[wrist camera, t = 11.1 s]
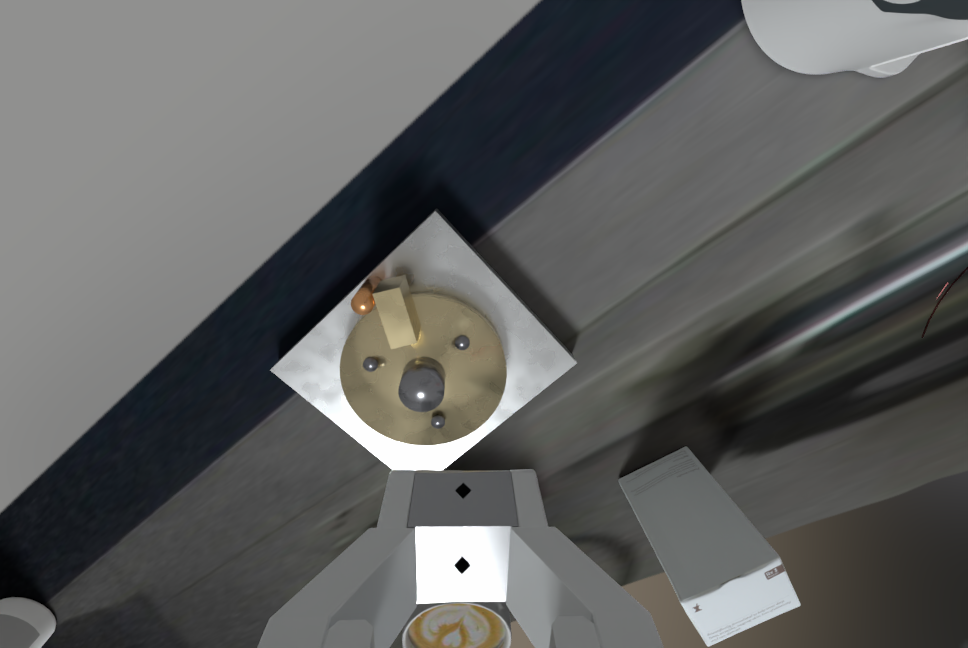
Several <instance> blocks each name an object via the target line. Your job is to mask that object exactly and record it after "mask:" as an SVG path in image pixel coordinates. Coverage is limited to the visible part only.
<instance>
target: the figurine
mask: <svg viewBox="0 0 968 648" xmlns="http://www.w3.org/2000/svg"><path fill="white" fill-rule="evenodd" d="M967 269H968V267H967V268H966V269H965V270H964V271H963V272H962V273H961V274H960V275H959V277H958V278H957V279H956V280H955V281H954V282H953V283H952V284H951V285H950V287H949V288H948V290H947V291H946V292H945V294H944V295H943V296H942V298H941V299H940V301H939V302H938V304H937V305H936V307H935V309H934V311H933V313H932V314H931V316H930V318H929V320H928V322H927V325H926V327H925V330H924V332H923V335H922V338H923V337H924V334H925V332H926V329H927V326H928V324H929V321H930V319H931V318H932V316H933V314H934V312H935V310H936V309H937V307H938V305H939V303H940V302H941V300H942V299H943V298H944V296H945V295H946V293H947V292H948V291H949V289H950V288H951V287H952V285H953V284H954V283H955V282H956V281H957V280H958V279H959V278H960V277H961V275H962V274H963V273H964V272H965V271H966V270H967ZM947 284H948V283H946V285H945V286H944V288H945V287H946V286H947ZM944 288H943V290H944ZM943 290H942V291H943ZM942 291H941V293H942ZM941 293H940V294H941ZM940 294H939V295H940ZM938 297H939V296H938Z"/></svg>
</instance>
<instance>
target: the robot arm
mask: <svg viewBox="0 0 968 648" xmlns="http://www.w3.org/2000/svg"><path fill="white" fill-rule="evenodd" d="M741 2H742V7H743V12H744V15H745V19H746V22H747V25H748V27H749V29H750V32H751V34H752V35H753V37H754V39H755V41H756V42H757V44H758V45H759V46H760V48H761V49H762V50H763V51H764V52H765V53H766V54H767V55H768V56H769V57H770V58H771V59H772V60H774V61H775V62H776V63H778V64H779V65H781V66H783V67H785V68H787V69H789V70H792V71H795V72H799V73H804V74H814V75H815V74H829V73H835V72H841V71H857V72H860V73H863V74H866V75H869V76H872V77H877V78H885V77H889V76H892V75H895V74H898V73H900V72H902V71H903V70H904V69H906V68H907V67H908V66H909V65H910V63H911V62H912V61H913V60H914V59H915V58H916V57H917V56H918V55H919V54H920V53H923V52H927V51H930V50H933V49H937V48H940V47H944V46H947V45H950V44H954V43H957V42H960V41H963V40H967V39H968V0H741ZM459 601H469V602H506V605H507V607H508V608H509V610H510V611H511V613H512V614H513V616H514V617H515V619H516V620H517V622H518V623H519V625H520V626H521V627H522V629H523V631H524V632H525V634H526V635H527V636H528V638H529V639H530V641H531V642H532V644H533V645H534V647H535V648H664V647H663V644H662V642H661V639H660V637H659V634H658V632H657V629H656V627H655V624H654V622H653V619H652V617H651V614H650V613H649V612H648V611H647V610H646V609H645V608H644V607H643V606H642V605H641V604H640V603H638V602H637V601H636V600H635V599H634V598H633V597H632V596H631V595H630V594H629V593H627V592H626V591H625V590H624V589H623V588H622V587H621V586H620V585H619V584H618V583H616V582H615V581H614V580H613V579H612V578H611V577H610V576H609V575H608V574H607V573H605V572H604V571H603V570H602V569H601V568H600V567H599V566H598V565H597V564H596V563H594V562H593V561H592V560H591V559H590V558H589V557H588V556H587V555H586V554H585V553H583V552H582V551H581V550H580V549H579V548H578V547H577V546H576V545H575V544H574V543H572V542H571V541H570V540H569V539H568V538H567V537H566V536H565V535H564V534H563V533H561V532H560V531H559V530H558V529H557V528H556V527H548V524H547V520H546V516H545V511H544V507H543V502H542V498H541V494H540V489H539V485H538V481H537V476H536V472H535V471H534V470H533V469H519V470H510V471H461V470H391V472H390V474H389V477H388V481H387V486H386V490H385V494H384V499H383V503H382V507H381V512H380V516H379V520H378V525H377V528H369V529H368V530H367V531H366V532H365V533H364V534H362V535H361V536H360V537H359V538H358V539H357V540H356V541H355V542H354V543H353V544H351V545H350V546H349V547H348V548H347V549H346V550H345V551H344V552H343V553H341V554H340V555H339V556H338V557H337V558H336V559H335V560H334V561H333V562H332V563H330V564H329V565H328V566H327V567H326V568H325V569H324V570H323V571H322V572H320V573H319V574H318V575H317V576H316V577H315V578H314V579H313V580H312V581H311V582H309V583H308V584H307V585H306V586H305V587H304V588H303V589H302V590H301V591H299V592H298V593H297V594H296V595H295V596H294V597H293V598H292V599H291V600H290V601H288V602H287V603H286V604H285V605H284V606H283V607H282V608H281V609H280V610H278V611H277V612H276V613H275V614H274V615H273V616H272V617H271V618H270V619H269V621H268V623H267V626H266V628H265V630H264V633H263V635H262V638H261V640H260V642H259V645H258V647H257V648H389V647H390V646H391V644H392V643H393V641H394V640H395V638H396V637H397V635H398V634H399V632H400V631H401V629H402V628H403V627H404V625H405V624H406V622H407V621H408V619H409V618H410V616H411V615H412V613H413V612H414V610H415V609H416V607H417V603H437V602H459Z"/></svg>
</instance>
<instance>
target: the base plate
mask: <svg viewBox="0 0 968 648" xmlns="http://www.w3.org/2000/svg"><path fill="white" fill-rule="evenodd" d="M402 275H406V279H407V282H408V285H409V288H410V292H416V291H429V292H438V293H442V294H447V295H450V296H453V297H456V298H458V299H460V300H462V301H464V302H466V303H468V304H469V305H471V306H472V307H474V308H476V309H477V310H478V311H479V312H480V313H481V314H483V315H484V316H485V318H486V319H487V320H488V321H489V322H490V323H491V325H492V326H493V328H494V329H495V331H496V332H497V334H498V337H499V339H500V341H501V344H502V347H503V350H504V355H505V361H506V367H507V378H506V386H505V390H504V393H503V396H502V399H501V401H500V403H499V405H498V407H497V408H496V410H495V412H494V413H493V414H492V415H491V417H490V418H489V419H488V420H487V421H486V422H485V423H484V424H483V425H482V426H481V427H479V428H478V429H477V430H475V431H474V432H472V433H471V434H469V435H467V436H465V437H463V438H461V439H458V440H456V441H453V442H449V443H446V444H440V445H430V446H420V445H411V444H405V443H401V442H397V441H394V440H392V439H389V438H387V437H385V436H383V435H381V434H379V433H377V432H376V431H374V430H373V429H371V428H370V427H369V426H367V425H366V424H365V423H364V422H363V421H362V420H361V419H360V418H359V417H358V416H357V415H356V413H355V412H354V411H353V409H352V408H351V406H350V405H349V403H348V401H347V399H346V397H345V395H344V392H343V389H342V385H341V380H340V359H341V354H342V350H343V347H344V345H345V342H346V340H347V338H348V336H349V334H350V333H351V331H352V330H353V328H354V326H355V325H356V323H357V322H358V321H359V320H360V318H361V317H362V316H363V315H366V314H369V313H370V312H371V311H372V309H373V307H374V306H375V305H376V304H375V301H374V298H373V295H372V294H373V292H374V290H375V289H376V287H377V285H378V284H379V282H380V281H381V280H385V279H389V278H394V277H398V276H402ZM576 363H577V362H576V360H575V358H574V356H573V354H572V353H571V352H570V351H569V350H568V349H567V348H566V347H565V345H564V344H563V343H562V342H561V341H560V340H559V339H558V338H557V337H556V336H555V335H554V334H553V333H552V331H551V330H550V329H549V328H548V327H547V326H546V325H545V324H544V323H543V322H542V321H541V320H540V319H539V317H538V316H537V315H536V314H535V313H534V312H533V311H532V310H531V309H530V308H529V307H528V306H527V305H526V303H525V302H524V301H523V300H522V299H521V298H520V297H519V296H518V295H517V294H516V293H515V292H514V291H513V289H512V288H511V287H510V286H509V285H508V284H507V283H506V282H505V281H504V280H503V279H502V278H501V277H500V276H499V274H498V273H497V272H496V271H495V270H494V269H493V268H492V267H491V266H490V265H489V264H488V263H487V262H486V260H485V259H484V258H483V257H482V256H481V255H480V254H479V253H478V252H477V251H476V250H475V249H474V248H473V246H472V245H471V244H470V243H469V242H468V241H467V240H466V239H465V238H464V237H463V236H462V235H461V234H460V232H459V231H458V230H457V229H456V228H455V227H454V226H453V225H452V224H451V223H450V222H449V221H448V220H447V218H446V217H445V216H444V215H443V214H442V213H441V212H440V211H439V210H438V209H437V208H436V209H435V210H434V211H433V212H432V213H431V214H430V215H429V216H428V217H427V218H426V219H425V220H424V221H423V222H422V223H420V224H419V225H418V226H417V227H416V228H415V229H414V230H413V231H412V232H411V233H410V234H409V235H408V236H407V237H406V238H405V239H404V240H403V241H402V242H401V243H400V244H399V245H398V246H397V247H396V248H395V249H394V250H392V251H391V252H390V253H389V254H388V255H387V256H386V257H385V258H384V259H383V260H382V261H381V262H380V263H379V264H378V265H377V266H376V267H375V268H374V269H373V270H372V271H371V272H370V273H369V274H368V275H367V276H365V277H364V278H363V279H362V280H361V281H360V282H359V283H358V284H357V285H356V286H355V287H354V288H353V289H352V290H351V291H350V292H349V293H348V294H347V295H346V296H345V297H344V298H343V299H342V300H341V301H340V302H339V303H337V304H336V305H335V306H334V307H333V308H332V309H331V310H330V311H329V312H328V313H327V314H326V315H325V316H324V317H323V318H322V319H321V320H320V321H319V322H318V323H317V324H316V325H315V326H314V327H313V328H312V329H310V330H309V331H308V332H307V333H306V334H305V335H304V336H303V337H302V338H301V339H300V340H299V341H298V342H297V343H296V344H295V345H294V346H293V347H292V348H291V349H290V350H289V351H288V352H287V353H286V354H285V355H284V356H282V357H281V358H280V359H279V360H278V361H277V363H276V364H275V365H274V366H273V367H272V368H271V370H270V371H272V372H273V373H274V374H275V375H276V376H278V377H279V378H280V379H281V380H283V381H284V382H285V383H286V384H288V385H289V386H290V387H291V388H293V389H294V390H295V391H296V392H298V393H299V394H300V395H301V396H302V397H304V398H305V399H306V400H307V401H309V402H310V403H311V404H312V405H314V406H315V407H316V408H317V409H319V410H320V411H321V412H322V413H323V414H325V415H326V416H327V417H328V418H330V419H331V420H332V421H333V422H335V423H336V424H337V425H338V426H340V427H341V428H342V429H343V430H345V431H346V432H347V433H348V434H349V435H351V436H352V437H353V438H354V439H356V440H357V441H358V442H359V443H361V444H362V445H363V446H364V447H366V448H367V449H368V450H369V451H371V452H372V453H373V454H374V455H375V456H377V457H378V458H379V459H380V460H382V461H383V462H384V463H385V464H387V465H388V466H389V467H390V468H392V469H393V470H443V469H445V468H446V467H447V466H448V465H450V464H451V463H452V462H453V461H455V460H456V459H457V458H458V457H460V456H461V455H462V454H463V453H465V452H466V451H467V450H468V449H470V448H471V447H472V446H473V445H475V444H476V443H477V442H478V441H480V440H481V439H482V438H484V437H485V436H486V435H487V434H489V433H490V432H491V431H492V430H494V429H495V428H496V427H497V426H499V425H500V424H501V423H502V422H504V421H505V420H506V419H507V418H509V417H510V416H511V415H512V414H514V413H515V412H516V411H517V410H519V409H520V408H521V407H522V406H524V405H525V404H526V403H527V402H529V401H530V400H531V399H532V398H534V397H535V396H536V395H537V394H539V393H540V392H541V391H543V390H544V389H545V388H546V387H548V386H549V385H550V384H551V383H553V382H554V381H555V380H556V379H558V378H559V377H560V376H561V375H563V374H564V373H565V372H566V371H568V370H569V369H570V368H571V367H573V366H574V365H575V364H576Z"/></svg>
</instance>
